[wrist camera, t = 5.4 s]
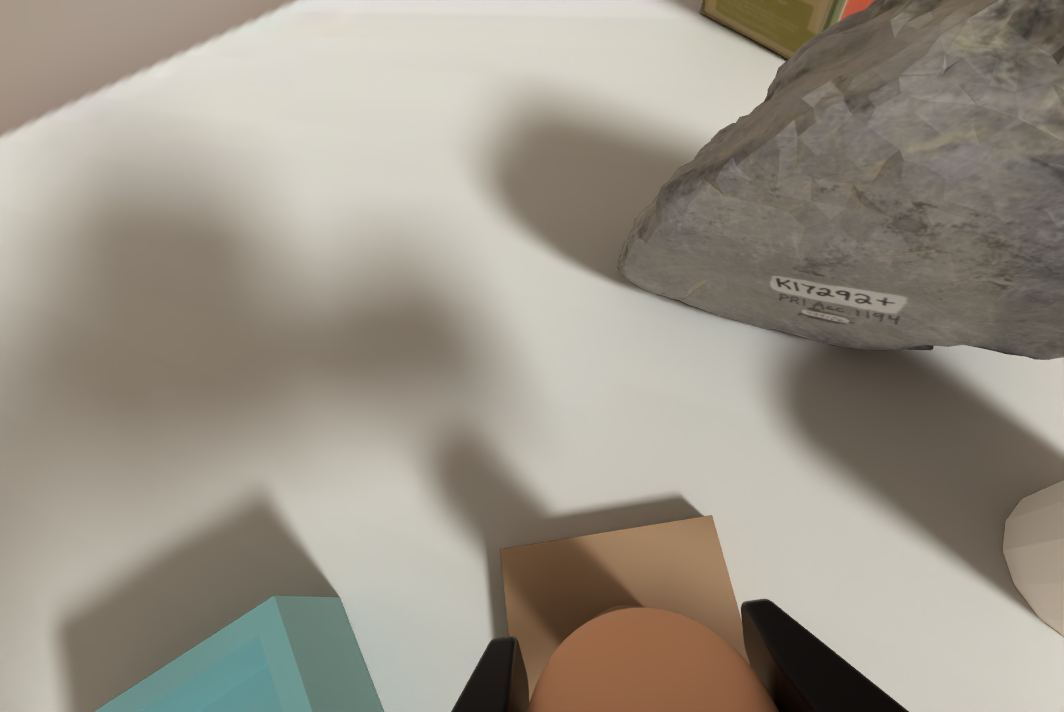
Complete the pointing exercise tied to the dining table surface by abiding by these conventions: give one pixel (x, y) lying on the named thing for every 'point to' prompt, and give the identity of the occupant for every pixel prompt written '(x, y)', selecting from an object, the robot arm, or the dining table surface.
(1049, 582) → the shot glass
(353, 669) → the teal open-top box
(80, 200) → the dining table surface
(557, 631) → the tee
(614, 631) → the ball
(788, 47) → the food packaging
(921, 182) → the decorative rock
